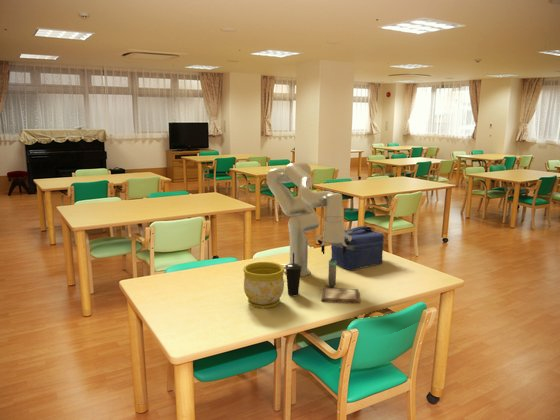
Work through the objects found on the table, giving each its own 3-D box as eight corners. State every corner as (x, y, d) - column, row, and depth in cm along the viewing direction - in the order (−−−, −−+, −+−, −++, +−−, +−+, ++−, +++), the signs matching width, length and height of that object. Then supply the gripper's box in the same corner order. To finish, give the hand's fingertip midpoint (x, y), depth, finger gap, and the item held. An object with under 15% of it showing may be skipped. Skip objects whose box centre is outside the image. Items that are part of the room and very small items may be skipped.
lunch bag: (365, 253, 271) (366, 221, 267) (390, 262, 254) (392, 228, 250) (325, 261, 255) (326, 227, 250) (350, 272, 237) (351, 235, 233)
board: (321, 301, 198) (321, 298, 198) (322, 289, 212) (322, 286, 212) (359, 303, 196) (359, 300, 196) (358, 291, 210) (358, 288, 210)
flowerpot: (269, 314, 184) (269, 277, 181) (235, 305, 194) (235, 270, 190) (291, 300, 199) (291, 265, 196) (258, 292, 209) (258, 259, 205)
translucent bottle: (328, 287, 215) (328, 262, 212) (328, 285, 218) (328, 259, 216) (335, 288, 214) (336, 262, 212) (335, 285, 218) (336, 260, 215)
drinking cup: (289, 298, 202) (290, 256, 198) (282, 292, 208) (282, 252, 204) (304, 295, 205) (304, 254, 201) (296, 289, 212) (296, 250, 208)
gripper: (315, 220, 207) (315, 255, 210) (352, 220, 205) (352, 256, 208) (316, 217, 214) (316, 251, 217) (352, 217, 212) (351, 251, 215)
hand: (333, 253), depth 212 cm, fingers open, 9 cm apart
